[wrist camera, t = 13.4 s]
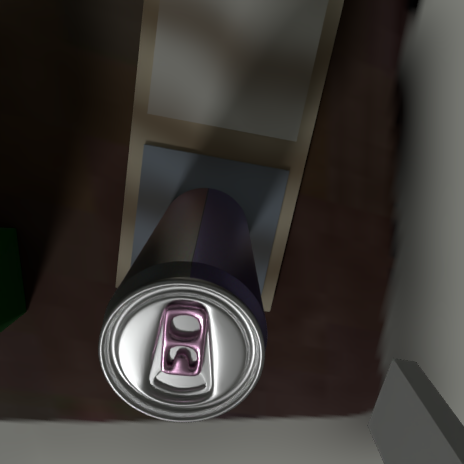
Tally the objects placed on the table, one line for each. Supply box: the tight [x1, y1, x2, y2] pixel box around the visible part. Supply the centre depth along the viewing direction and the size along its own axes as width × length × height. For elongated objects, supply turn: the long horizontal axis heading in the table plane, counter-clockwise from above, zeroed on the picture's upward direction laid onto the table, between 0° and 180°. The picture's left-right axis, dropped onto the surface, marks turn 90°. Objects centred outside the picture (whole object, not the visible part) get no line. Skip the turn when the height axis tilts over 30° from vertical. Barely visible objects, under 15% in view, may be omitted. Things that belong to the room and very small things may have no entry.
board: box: [116, 0, 344, 312], centre depth 26 cm, size 24×12×2 cm, turn 170°
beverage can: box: [98, 188, 267, 422], centre depth 20 cm, size 6×6×15 cm
